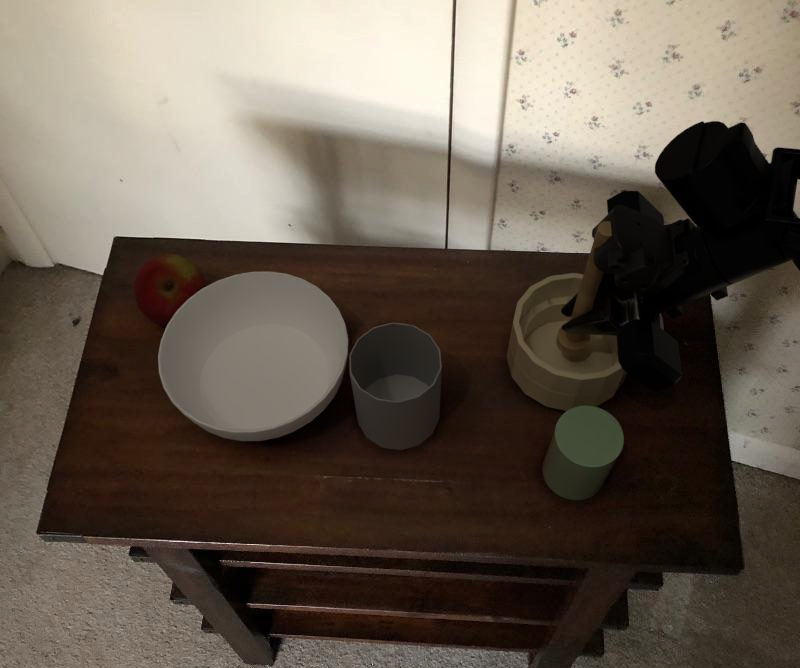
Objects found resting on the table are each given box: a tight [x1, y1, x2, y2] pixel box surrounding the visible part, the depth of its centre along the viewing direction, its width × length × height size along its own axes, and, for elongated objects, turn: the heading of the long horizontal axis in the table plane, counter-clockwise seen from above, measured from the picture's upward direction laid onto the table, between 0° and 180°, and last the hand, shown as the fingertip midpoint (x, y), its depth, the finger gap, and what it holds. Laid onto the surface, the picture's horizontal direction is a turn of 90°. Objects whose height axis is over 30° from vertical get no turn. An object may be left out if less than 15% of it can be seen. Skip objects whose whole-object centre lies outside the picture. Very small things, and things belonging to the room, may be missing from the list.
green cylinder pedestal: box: [541, 406, 625, 501], centre depth 71 cm, size 6×6×8 cm
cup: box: [348, 321, 443, 451], centre depth 73 cm, size 8×8×10 cm
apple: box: [133, 253, 208, 329], centre depth 81 cm, size 8×8×8 cm
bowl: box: [157, 271, 349, 442], centre depth 76 cm, size 18×18×7 cm
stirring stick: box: [556, 221, 612, 356], centre depth 69 cm, size 3×3×17 cm
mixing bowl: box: [506, 272, 631, 412], centre depth 77 cm, size 12×12×7 cm
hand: (563, 321), depth 74 cm, fingers closed on stirring stick
